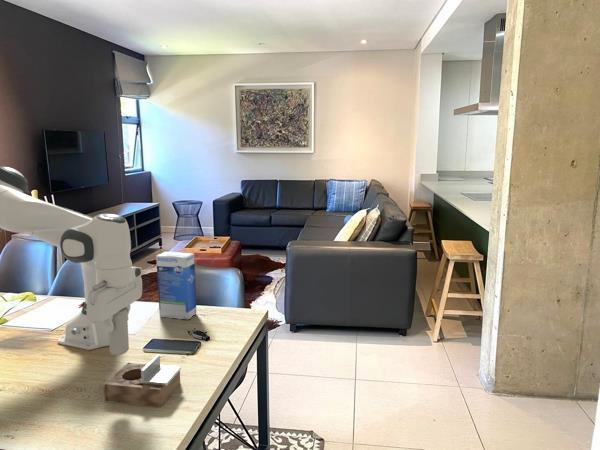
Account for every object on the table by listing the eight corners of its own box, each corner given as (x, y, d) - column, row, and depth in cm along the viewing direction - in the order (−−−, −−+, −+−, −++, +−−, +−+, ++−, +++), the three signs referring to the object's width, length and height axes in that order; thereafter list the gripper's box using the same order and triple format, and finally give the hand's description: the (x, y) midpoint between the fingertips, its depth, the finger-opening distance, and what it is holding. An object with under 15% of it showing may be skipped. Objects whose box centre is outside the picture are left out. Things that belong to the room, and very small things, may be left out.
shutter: (141, 383, 117) (140, 370, 116) (157, 367, 125) (157, 354, 125) (166, 385, 115) (165, 372, 115) (180, 369, 124) (180, 356, 124)
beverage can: (113, 347, 121) (110, 306, 118) (131, 347, 121) (129, 306, 119) (107, 356, 116) (104, 313, 114) (125, 355, 116) (123, 312, 114)
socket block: (105, 401, 117) (103, 383, 117) (129, 378, 129) (128, 362, 128) (161, 407, 115) (160, 389, 114) (180, 383, 127) (179, 367, 126)
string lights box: (197, 314, 180) (195, 253, 176) (188, 321, 173) (186, 257, 168) (168, 311, 183) (165, 251, 179) (158, 317, 176) (155, 255, 171)
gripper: (101, 288, 104) (105, 343, 107) (145, 266, 124) (147, 313, 126) (77, 287, 105) (81, 341, 108) (124, 265, 125) (127, 311, 127)
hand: (117, 325), depth 117 cm, fingers closed on beverage can, 5 cm apart
